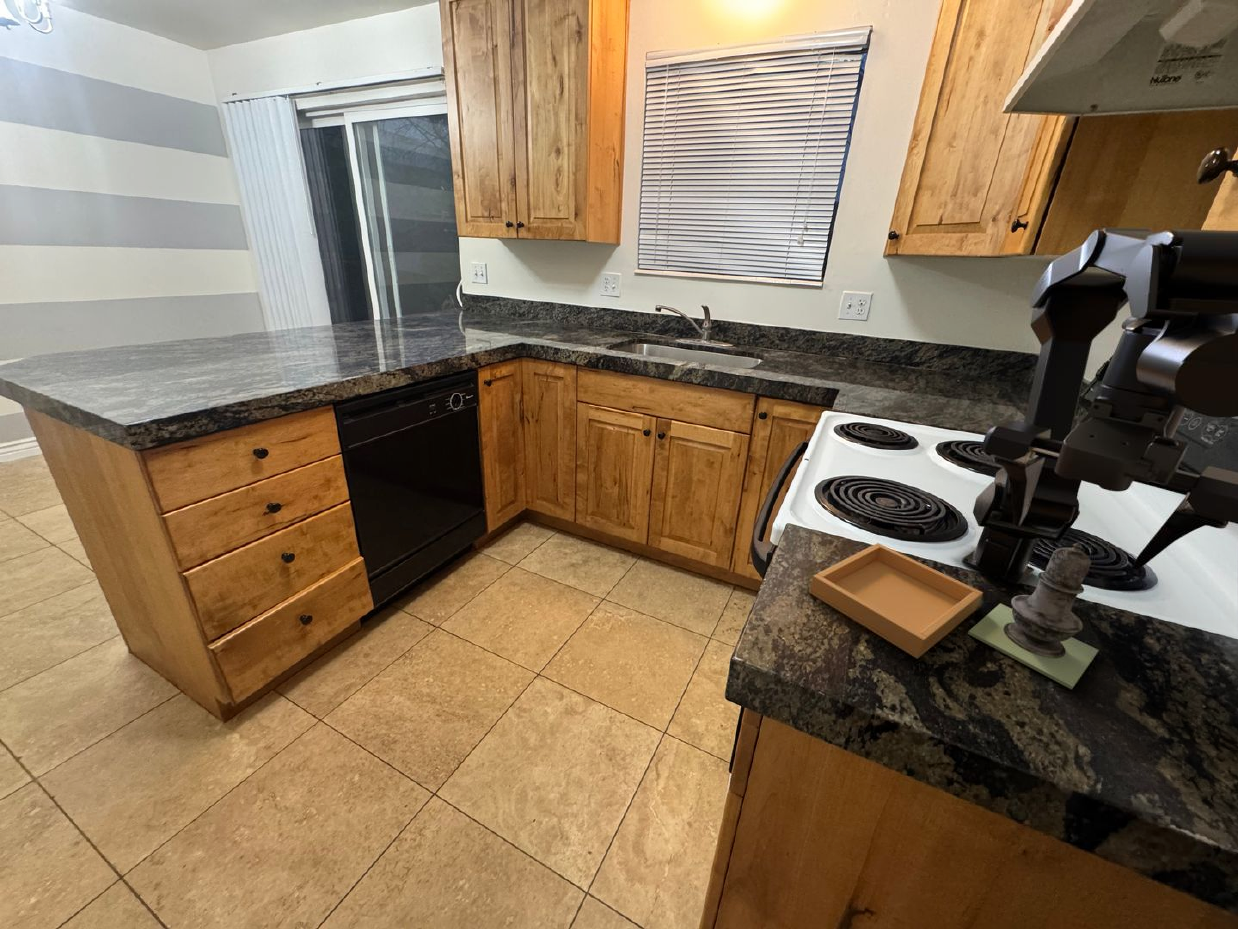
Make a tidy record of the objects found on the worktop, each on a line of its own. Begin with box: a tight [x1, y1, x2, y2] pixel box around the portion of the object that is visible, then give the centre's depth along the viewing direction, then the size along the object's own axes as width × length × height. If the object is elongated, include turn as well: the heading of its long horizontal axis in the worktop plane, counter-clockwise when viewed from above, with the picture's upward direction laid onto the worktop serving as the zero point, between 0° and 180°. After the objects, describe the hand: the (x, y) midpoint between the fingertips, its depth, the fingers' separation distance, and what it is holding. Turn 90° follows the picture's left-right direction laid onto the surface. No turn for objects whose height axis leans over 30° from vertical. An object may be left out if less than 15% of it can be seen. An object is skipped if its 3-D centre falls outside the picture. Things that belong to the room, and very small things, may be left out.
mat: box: [967, 603, 1099, 690], centre depth 53 cm, size 9×9×1 cm
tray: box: [808, 542, 984, 659], centre depth 58 cm, size 15×13×2 cm
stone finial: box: [1003, 541, 1092, 658], centre depth 51 cm, size 6×6×12 cm
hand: (1072, 545), depth 49 cm, fingers open, 9 cm apart
